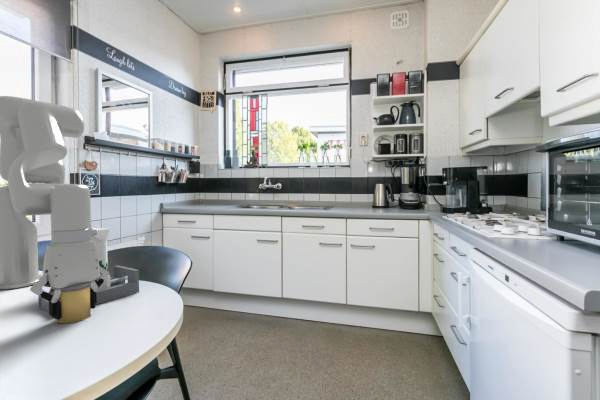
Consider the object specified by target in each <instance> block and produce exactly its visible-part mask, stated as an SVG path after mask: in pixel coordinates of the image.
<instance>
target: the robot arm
mask: <svg viewBox="0 0 600 400" xmlns="http://www.w3.org/2000/svg"><path fill="white" fill-rule="evenodd" d="M85 126H86V125H85V120H84V117H83V115H82V114H81V112H80V111H79V110H78V109H76V108H73V107H69V106H65V105H61V104H55V103H51V102H44V101H39V100H35V99H34V100H33V99H29V98H25V97H24V98H23V97H19V96H18V97H17V96H12V95H10V96H8V95H0V177H1V178H2V180H4V181H6V182H7V185H6V186H1V187H0V290H13V289H17V288H18V289H19V288H24V287H30V286H31V287H30V289H29V291H30V292H32V293H33V294H35V295H37V296H40V297H42V298H44V299H46V300H47V301H49V311H48V315H49V317H51V318H52V319H54V320H56V321H57V320H58V319H60V318H61V302H60V301H58V298H59V296H60V294H61V289H62V288H66V287H71V286H75V285H79V284H83V283H88V282H91V285H90V306H91V309H92V310H93V309H96V305H95V303H97V295H96V292H97V291H98V290H99V287H100V286H101V285H102V283H103V282H104V280H105V279H106V278H107V276H108V275H110V271H109V270H108V271H107V270H105V269H104V268H102V267H101V266H99V260H98V253H97V249H96V245H95V242H94V241H93V240H91V239H92V236H93V235H97V230H93V229H92V228H93V227H92V212H91V211H92V209H91V208H92V207H91V190H90V187H89V186H88V185H86V184H79V183H65V182H66V181H65V180H66V167H65V164H64V161H63V159H65V158H66V156H67V154H68V148H67V145H66V141H65V138H64V137H66V138H73V139H74V138H75V139H76V138H80V137H81V136H82V135H83V134H84V132H85ZM44 215H45V216H47V215H48V216H49V215H50V237H51V243H49V244H47V245H46V248H45V253H44V257H43V266H42V275H41V274H39V247H38V244H39V243H38V229H37V226H36V225H35V223H34V222H33V221H31V220H30V219H29V218H28V217H27V216H44ZM99 273H100V276H99ZM43 287H46V288H49V290H48V291H45V290H44V289H43Z"/></svg>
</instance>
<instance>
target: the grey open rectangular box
mask: <svg viewBox="0 0 600 400" xmlns="http://www.w3.org/2000/svg"><path fill="white" fill-rule="evenodd" d="M113 268H114V269H113V271H114V276H112V277H111V276H110V280H112V279H117V278H121V277H125V276H126V275H127V276H128V279H127V282H126V280H123V281H119V282H115V283H111V284H110V286H111V287H109V288H105V289H102V290H98V291H97V292H96V295H97V303H95V306H97V305H101V304H104V303H107V302H109V301H112V300H116V299H119V298H123V297H127V296H130V295H132V294H133V293H134V294H136V292H137V293H140V271H139V269H136V268H132V267H127V266H122V265H114V267H113ZM37 296H38V295H37ZM38 308H40V309H42V310H44V311H47V312H49V301H47V300H46V299H44V298H42V297H40V296H38Z"/></svg>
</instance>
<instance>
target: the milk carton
mask: <svg viewBox="0 0 600 400" xmlns="http://www.w3.org/2000/svg"><path fill="white" fill-rule="evenodd" d="M91 228H92V229H93V230H97V235H93V236H92V239H91V240H93V241H94V242H95V245H96V249H97V253H98V260H99V266H101V267H102V268H104V269H105V270H107V271H108V272H109V264H108V263H109V259H108V257H109V256H108V240H109V235H110V230H111V228H106V227H105V228H104V227H103V228H101V227H100V228H98V227H91Z"/></svg>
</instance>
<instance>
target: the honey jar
mask: <svg viewBox="0 0 600 400" xmlns="http://www.w3.org/2000/svg"><path fill="white" fill-rule="evenodd" d="M90 285H91V282H88V283H83V284H79V285H75V286H71V287H66V288H62V289H61V294H60V296H59V298H58V301H60V302H61V318H60V319H58V320H56V322H57V323H58V324H70V323H76V322H80V321H84V320H86V319H87V318H90V316H91V306H90Z"/></svg>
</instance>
